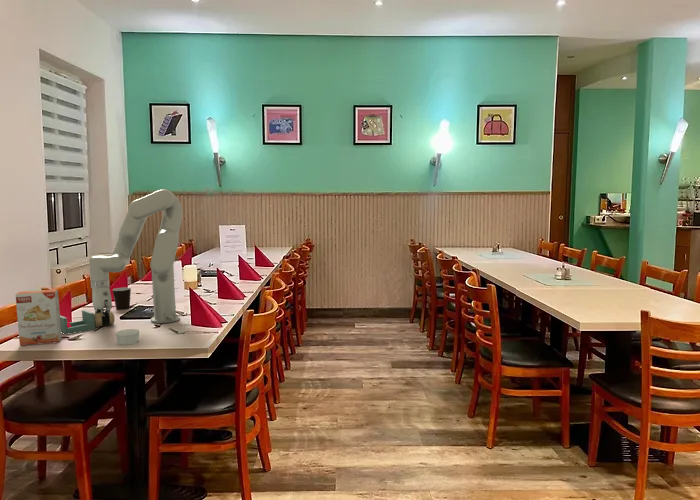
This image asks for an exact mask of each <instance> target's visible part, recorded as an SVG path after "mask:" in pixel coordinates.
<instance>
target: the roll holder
mask: <svg viewBox="0 0 700 500" xmlns="http://www.w3.org/2000/svg"><path fill="white" fill-rule="evenodd" d="M94 314H95V312H92V311H89V310H86V309H83V310H81V317H82V319H81V320H78V321H71V322H69V323H70V324H71V326H72V327H69V328H68V327H67V323H68V318H67V317H66V316H63V315H60V323H61V332H62V333H64V334H67V335H69V334H68V333H72V334H75V333H74V332H77V333H81V332H80V331H82V332H86V331H90V330H91V331H92V330H95V329H96V327H95V321H94ZM62 333H61V334H62ZM64 334H63V335H64Z"/></svg>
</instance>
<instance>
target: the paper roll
mask: <svg viewBox="0 0 700 500" xmlns="http://www.w3.org/2000/svg"><path fill="white" fill-rule="evenodd" d="M109 316H110V324H108V325H107V326H110V325H114V324H115V320H116V319H115V314H114V312H113V311H112V310H110V315H109ZM94 321H95V328H100V327H105V326H106V325H102V313H96V314H95V313H94Z"/></svg>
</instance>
